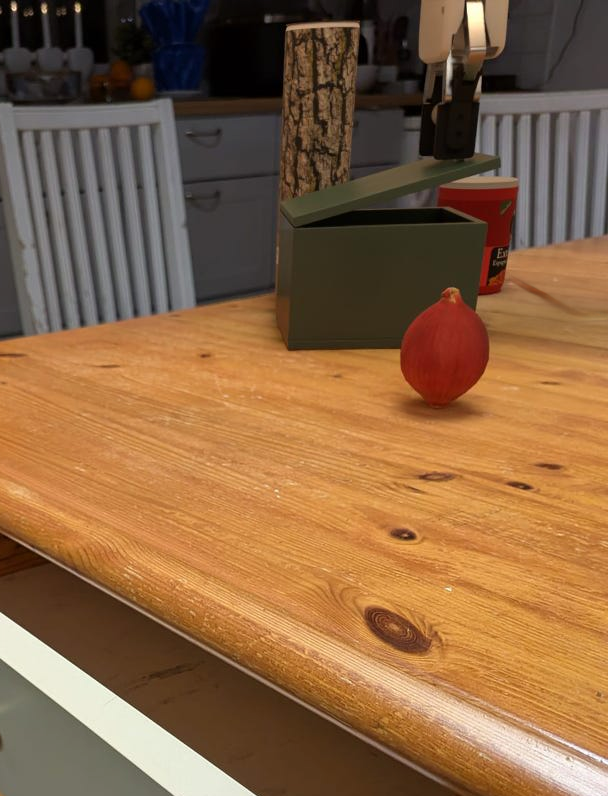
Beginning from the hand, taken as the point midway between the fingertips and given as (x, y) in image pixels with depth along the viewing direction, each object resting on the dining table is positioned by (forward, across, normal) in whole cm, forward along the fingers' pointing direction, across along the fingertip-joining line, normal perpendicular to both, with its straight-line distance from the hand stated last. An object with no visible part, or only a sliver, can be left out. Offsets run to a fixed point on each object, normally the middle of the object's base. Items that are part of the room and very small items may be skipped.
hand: (445, 154), depth 81 cm
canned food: (+15, +21, -8) cm, 27 cm away
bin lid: (+3, 0, +5) cm, 6 cm away
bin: (+14, 0, +6) cm, 15 cm away
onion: (+15, -25, +5) cm, 29 cm away
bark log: (+14, +14, +10) cm, 22 cm away
